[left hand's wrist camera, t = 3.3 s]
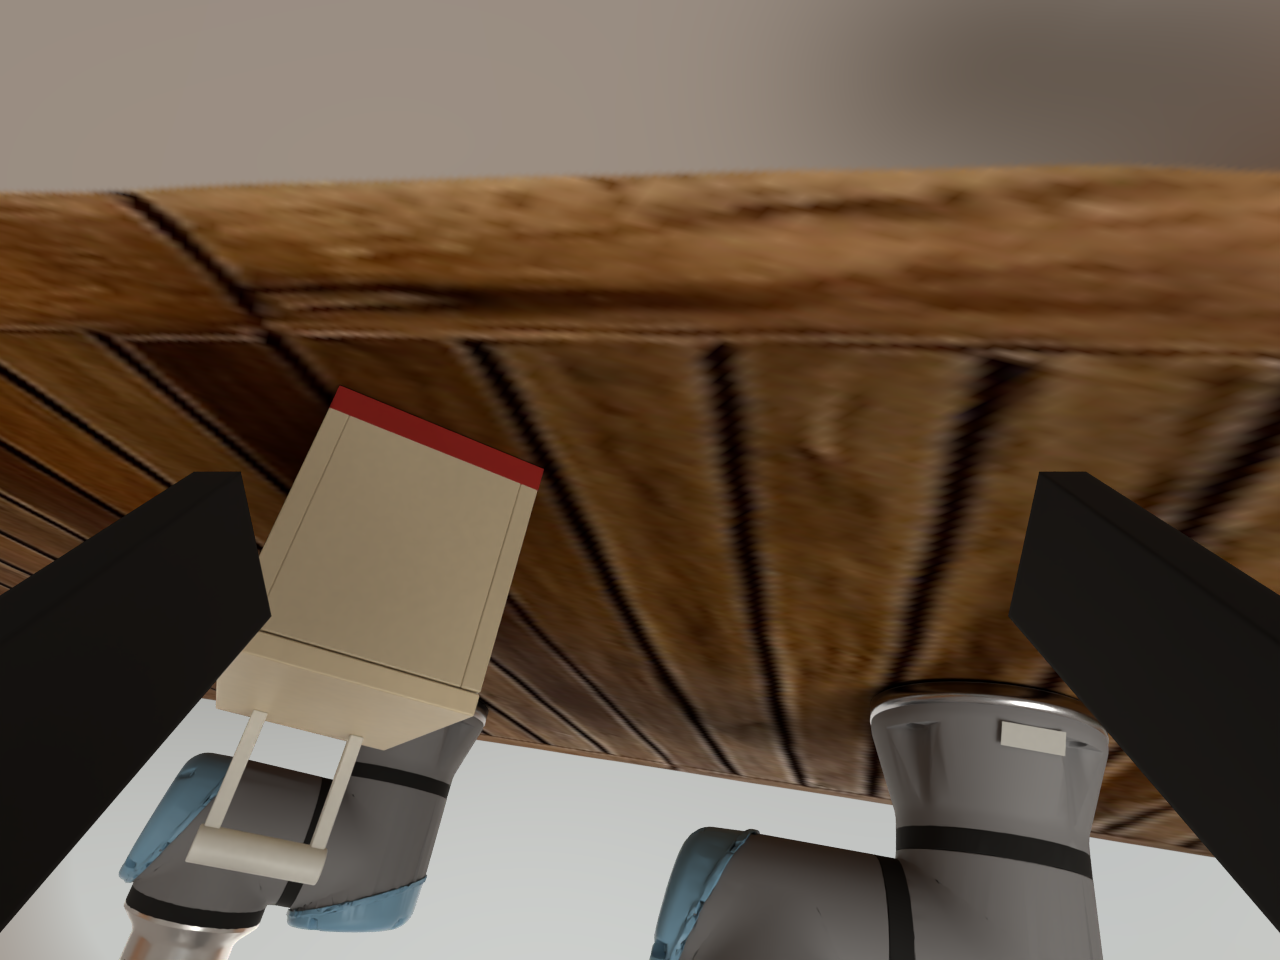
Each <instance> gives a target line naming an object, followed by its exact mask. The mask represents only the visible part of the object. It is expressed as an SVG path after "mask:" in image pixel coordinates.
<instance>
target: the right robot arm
mask: <svg viewBox="0 0 1280 960" xmlns="http://www.w3.org/2000/svg"><path fill="white" fill-rule="evenodd" d="M487 714H488V709H487V707H486V706H485V705H483V704H482V703H480V702H478V703H477V706H476V710H475V713H474V716H472V717H470V718H467V719H464V720H462V721H459V722H457V723H454V724H451V725H449V726H446V727H444V728H441V729H438V730H436V731H433V732H431V733H428V734H425V735H423V736H420V737H418V738H415V739H412V740H410V741H407V742H405V743H402V744H399V745H397V746H394V747H392V748H389V749H386V750H380V749H376V748H372V747H368V746H364V745H361V747H360V750H359V753H358V756H357V759H356V762H355V764H354V767H353V770H352V773H351V776H350V779H349V782H348V785H347V787H346V790H345V793H344V796H343V799H342V802H341V805H340V807H339V810H338V813H337V816H336V819H335V822H334V825H333V827H332V830H331V833H330V836H329V839H328V842H327V845H326V847H325V848H327V856H326V860H325V864H324V867H323V869H322V872H321V875H320V877H319V879H318V881H317V883H316V884H315V885H309V884H304V883H298V882H293V881H287V880H282V879H277V878H271V877H266V876H260V875H255V874H249V873H244V872H238V871H233V870H227V869H222V868H216V867H211V866H205V865H200V864H194V863H189V862H186V861H185V859H186V857H187V855H188V852H189V850H190V848H191V845H192V843H193V841H194V838H195V836H196V834H197V831H198V829H199V827H200V825H201V824H205V822H206V819H207V817H208V815H209V812H210V810H211V808H212V805H213V803H214V801H215V798H216V796H217V794H218V791H219V789H220V787H221V784H222V782H223V780H224V777H225V775H226V773H227V770H228V768H229V766H230V763H231V761H232V759H233V757H231V756H226V755H220V754H215V753H202V754H199V755H197V756H194V757H193V758H191V759H190V760H189V761H188V762H187V763H186V764H185V765H184V766H183V768H182V769H181V771H180V772H179V774H178V775H177V777H176V778H175V780H174V781H173V783H172V784H171V786H170V787H169V789H168V791H167V792H166V794H165V795H164V797H163V799H162V800H161V802H160V803H159V805H158V807H157V808H156V810H155V811H154V813H153V815H152V816H151V818H150V820H149V821H148V823H147V825H146V826H145V828H144V829H143V831H142V833H141V835H140V836H139V838H138V839H137V841H136V843H135V845H134V846H133V848H132V850H131V852H130V854H129V855H128V857H127V859H126V861H125V863H124V864H123V865H122V867H121V869H120V871H119V877H120V878H121V879H123V880H124V881H125V882H126V883H131V882H133V885H132V887H131V889H130V892H129V894H128V896H127V898H126V901H125V903H124V907H125V910H126V912H127V914H128V916H129V918H130V920H131V923H132V928H133V930H132V932H131V934H130V936H129V939H128V941H127V943H126V946H125V948H124V950H123V952H122V954H121V957H120V959H119V960H228V957H229V955H230V952H231V950H232V947H233V945H234V944H235V943H236V942H237V941H238V940H239V939H241V938H242V937H244V936H245V935H247V934H249V933H250V932H252V931H253V930H255V929H256V928H257V927H258V926H259V924H260V921H261V918H262V915H263V913H264V910H265V908H266V906H267V905H278V906H283V907H289V908H290V909H288V911H287V922H288V924H289V925H290V926H292V927H296V928H300V929H308V930H320V931H330V932H377V931H386V930H392V929H396V928H398V927H400V926H402V925H403V924H405V923H406V922H407V921H408V920H409V918H410V917H411V915H412V914H413V911H414V908H415V905H416V902H417V899H418V896H419V893H420V890H421V887H422V884H423V883H424V882H425V880H426V878H427V875H426V872H427V868H428V865H429V861H430V857H431V854H432V850H433V847H434V843H435V839H436V836H437V832H438V829H439V825H440V822H441V818H442V814H443V811H444V807H445V804H446V800H447V796H448V792H449V789H450V786H451V782H452V779H453V777H454V774H455V773H456V771H457V770H458V768H459V766H460V765H461V763H462V762H463V760H464V758H465V757H466V755H467V754H468V752H469V750H470V749H471V747H472V746H473V744H474V742H475V741H476V739H477V737H478V736H479V734H480V733H481V731H482V729H483V727H484V725H485V722H486V718H487ZM332 782H333V780H332V779H327V778H323V777H319V776H315V775H311V774H307V773H302V772H298V771H294V770H289V769H285V768H281V767H277V766H273V765H268V764H264V763H260V762H256V761H251V760H248V762H247V765H246V767H245V769H244V772H243V774H242V777H241V779H240V781H239V784H238V786H237V788H236V791H235V793H234V796H233V798H232V800H231V803H230V805H229V808H228V810H227V812H226V815H225V817H224V820H223V822H222V824H221V827H223V828H228V829H233V830H238V831H243V832H248V833H253V834H258V835H263V836H268V837H273V838H278V839H283V840H288V841H293V842H298V843H303V844H308V845H310V843H311V840H312V837H313V834H314V832H315V829H316V826H317V823H318V820H319V818H320V815H321V812H322V809H323V807H324V804H325V801H326V798H327V795H328V793H329V790H330V787H331V784H332Z"/></svg>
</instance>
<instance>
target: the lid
mask: <svg viewBox="0 0 1280 960" xmlns="http://www.w3.org/2000/svg"><path fill="white" fill-rule="evenodd" d="M478 699H479V694H476V693H473V692H469V691H466V690H463V689H459V688H456V687H452V686H449V685H445V684H442V683H438V682H435V681H431V680H428V679H425V678H421V677H418V676H414V675H411V674H407V673H404V672H400V671H397V670H393V669H390V668H387V667H383V666H380V665H376V664H373V663H369V662H366V661H362V660H359V659H355V658H352V657H349V656H345V655H342V654H338V653H335V652H331V651H328V650H324V649H321V648H317V647H314V646H311V645H307V644H304V643H300V642H297V641H293V640H290V639H286V638H283V637H279V636H276V635H273V634H269V633H266V632H262V631H259V632H258V633H257V634H256V635H255V636H254V637H253V639H252V640H251V641H250V642H249V643H248V644H247V646H246V647H245V648H244V649H243V650H242V651H241V653H240V654H239V655H238V656H237V657H236V658H235V660H234V661H233V662H232V663H231V664H230V665H229V666H228V668H227V669H226V670H225V671H224V672H223V673H222V675H221V676H220V677H219V678H218V679H217V688H216V708H217V709H220V710H225V711H229V712H232V713H236V714H241V715H244V716H248V717H250V719H249V722H248V724H247V726H246V728H245V731H244V733H243V735H242V738H241V740H240V742H239V745H238V747H237V750H236V752H235V754H234V756H233V759H232V761H231V763H230V766H229V768H228V770H227V773H226V775H225V777H224V780H223V782H222V784H221V787H220V789H219V791H218V794H217V796H216V798H215V801H214V803H213V805H212V808H211V810H210V812H209V815H208V817H207V819H206V822H205V824H201V825H200V827H199V829H198V831H197V834H196V836H195V838H194V841H193V843H192V845H191V848H190V850H189V852H188V855H187V857H186V859H185V861H186V862H189V863H194V864H200V865H205V866H211V867H216V868H222V869H227V870H233V871H238V872H244V873H249V874H255V875H260V876H266V877H271V878H277V879H282V880H287V881H293V882H298V883H304V884H309V885H315V884H316V883H317V881H318V879H319V877H320V875H321V872H322V869H323V867H324V864H325V860H326V856H327V848H325V847H326V845H327V842H328V839H329V836H330V833H331V830H332V827H333V825H334V822H335V819H336V816H337V813H338V810H339V807H340V805H341V802H342V799H343V796H344V793H345V790H346V787H347V785H348V782H349V779H350V776H351V773H352V770H353V767H354V764H355V762H356V759H357V756H358V753H359V750H360V747H361V745H364V746H368V747H372V748H376V749H380V750H386V749H389V748H392V747H394V746H397V745H399V744H402V743H405V742H407V741H410V740H412V739H415V738H418V737H420V736H423V735H425V734H428V733H431V732H433V731H436V730H438V729H441V728H444V727H446V726H449V725H451V724H454V723H457V722H459V721H462V720H464V719H467V718H470V717H472V716H474V713H475V710H476V706H477V703H478ZM265 721H268V722H272V723H276V724H280V725H284V726H288V727H292V728H296V729H300V730H304V731H308V732H312V733H316V734H320V735H324V736H328V737H332V738H336V739H340V740H344V741H347V743H346V746H345V748H344V751H343V754H342V757H341V760H340V762H339V765H338V768H337V770H336V773H335V776H334V779H333V782H332V784H331V787H330V790H329V793H328V795H327V798H326V801H325V804H324V807H323V809H322V812H321V815H320V818H319V820H318V823H317V826H316V829H315V832H314V834H313V837H312V840H311V843H310V845H308V844H303V843H298V842H293V841H288V840H283V839H278V838H273V837H268V836H263V835H258V834H253V833H248V832H243V831H238V830H233V829H228V828H223V827H221V824H222V822H223V820H224V817H225V815H226V812H227V810H228V808H229V805H230V803H231V800H232V798H233V796H234V793H235V791H236V788H237V786H238V784H239V781H240V779H241V777H242V774H243V772H244V769H245V767H246V765H247V762H248V760H249V757H250V755H251V753H252V750H253V748H254V745H255V743H256V741H257V738H258V736H259V733H260V731H261V729H262V726H263V724H264V722H265Z"/></svg>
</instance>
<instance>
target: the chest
mask: <svg viewBox="0 0 1280 960" xmlns="http://www.w3.org/2000/svg"><path fill="white" fill-rule="evenodd" d="M543 471H544V469H542V468H540V467H537V466H535V465H533V464H530V463H528V462H525V461H523V460H520V459H518V458H516V457H513V456H511V455H508V454H506V453H503V452H501V451H498V450H496V449H494V448H491V447H489V446H486V445H484V444H481V443H479V442H477V441H474V440H472V439H469V438H467V437H464V436H462V435H460V434H457V433H455V432H452V431H450V430H447V429H445V428H443V427H440V426H438V425H435V424H433V423H430V422H428V421H426V420H423V419H421V418H418V417H416V416H413V415H411V414H408V413H406V412H404V411H401V410H399V409H396V408H394V407H391V406H389V405H387V404H384V403H382V402H379V401H377V400H374V399H372V398H370V397H367V396H365V395H362V394H360V393H357V392H355V391H353V390H350V389H348V388H345V387H343V386H339V388H338V390H337V392H336V394H335V396H334V398H333V400H332V402H331V405H330V407H329V410H328V412H327V414H326V416H325V418H324V420H323V422H322V424H321V427H320V429H319V431H318V433H317V435H316V437H315V439H314V441H313V443H312V446H311V448H310V450H309V452H308V454H307V456H306V458H305V460H304V462H303V465H302V467H301V469H300V471H299V473H298V475H297V477H296V479H295V481H294V484H293V486H292V488H291V490H290V492H289V494H288V496H287V498H286V500H285V503H284V505H283V507H282V509H281V511H280V513H279V515H278V517H277V519H276V522H275V524H274V526H273V528H272V530H271V532H270V534H269V536H268V538H267V541H266V543H265V545H264V547H263V549H262V551H261V553H260V555H259V559H260V564H261V569H262V573H263V578H264V583H265V587H266V592H267V597H268V601H269V606H270V611H271V615H272V616H271V618H270V619H269V620H268V621H267V622H266V623H265V625H264V626H263V627H262V628H261V629H260V630H259V631H262V632H266V633H269V634H273V635H276V636H279V637H283V638H286V639H290V640H293V641H297V642H300V643H304V644H307V645H311V646H314V647H317V648H321V649H324V650H328V651H331V652H335V653H338V654H342V655H345V656H349V657H352V658H355V659H359V660H362V661H366V662H369V663H373V664H376V665H380V666H383V667H387V668H390V669H393V670H397V671H400V672H404V673H407V674H411V675H414V676H418V677H421V678H425V679H428V680H431V681H435V682H438V683H442V684H445V685H449V686H452V687H456V688H459V689H463V690H466V691H469V692H473V693H476V694H478V693H480V691H481V689H482V685H483V681H484V678H485V674H486V671H487V667H488V664H489V660H490V657H491V653H492V650H493V646H494V642H495V639H496V635H497V632H498V628H499V625H500V621H501V618H502V614H503V611H504V607H505V603H506V600H507V596H508V593H509V589H510V586H511V582H512V579H513V575H514V572H515V568H516V564H517V561H518V557H519V554H520V550H521V547H522V543H523V540H524V536H525V533H526V529H527V525H528V522H529V518H530V515H531V511H532V508H533V504H534V501H535V497H536V494H537V491H538V489H539V485H540V482H541V478H542V475H543Z"/></svg>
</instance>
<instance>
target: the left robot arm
mask: <svg viewBox="0 0 1280 960" xmlns="http://www.w3.org/2000/svg"><path fill="white" fill-rule="evenodd" d="M271 616H272V615H271V611H270V606H269V601H268V597H267V592H266V587H265V583H264V578H263V573H262V569H261V564H260V559H259V555H258V550H257V545H256V541H255V536H254V531H253V527H252V522H251V517H250V513H249V508H248V504H247V499H246V494H245V490H244V485H243V480H242V476H241V472H193V473H191V474H190V475H188V476H187V477H185V478H184V479H182V480H180V481H179V482H177V483H176V484H174V485H173V486H171V487H169V488H168V489H166V490H165V491H163V492H162V493H160V494H158V495H157V496H155V497H154V498H152V499H151V500H149V501H147V502H146V503H144V504H143V505H141V506H140V507H138V508H137V509H135V510H133V511H132V512H130V513H129V514H127V515H126V516H124V517H122V518H121V519H119V520H118V521H116V522H115V523H113V524H111V525H110V526H108V527H107V528H105V529H104V530H102V531H101V532H99V533H97V534H96V535H94V536H93V537H91V538H90V539H88V540H86V541H85V542H83V543H82V544H80V545H79V546H77V547H75V548H74V549H72V550H71V551H69V552H68V553H66V554H65V555H63V556H61V557H60V558H58V559H57V560H55V561H54V562H52V563H50V564H49V565H47V566H46V567H44V568H43V569H41V570H39V571H38V572H36V573H35V574H33V575H32V576H30V577H29V578H27V579H25V580H24V581H22V582H21V583H19V584H18V585H16V586H14V587H13V588H11V589H10V590H8V591H7V592H5V593H3V594H2V595H0V932H1V931H2V930H3V929H4V928H5V926H6V925H7V924H8V923H9V922H10V921H11V919H12V918H13V917H14V916H15V915H16V914H17V912H18V911H19V910H20V909H21V908H22V907H23V905H24V904H25V903H26V902H27V901H28V900H29V898H30V897H31V896H32V895H33V894H34V893H35V891H36V890H37V889H38V888H39V887H40V886H41V884H42V883H43V882H44V881H45V880H46V879H47V877H48V876H49V875H50V874H51V873H52V872H53V870H54V869H55V868H56V867H57V866H58V865H59V863H60V862H61V861H62V860H63V859H64V858H65V856H66V855H67V854H68V853H69V852H70V851H71V849H72V848H73V847H74V846H75V845H76V844H77V842H78V841H79V840H80V839H81V838H82V837H83V836H84V834H85V833H86V832H87V831H88V830H89V828H90V827H91V826H92V825H93V824H94V823H95V821H96V820H97V819H98V818H99V817H100V816H101V815H102V813H103V812H104V811H105V810H106V809H107V807H108V806H109V805H110V804H111V803H112V802H113V800H114V799H115V798H116V797H117V796H118V795H119V793H120V792H121V791H122V790H123V789H124V788H125V787H126V785H127V784H128V783H129V782H130V781H131V780H132V778H133V777H134V776H135V775H136V774H137V773H138V771H139V770H140V769H141V768H142V767H143V766H144V764H145V763H146V762H147V761H148V760H149V759H150V757H151V756H152V755H153V754H154V753H155V752H156V750H157V749H158V748H159V747H160V746H161V744H162V743H163V742H164V741H165V740H166V739H167V738H168V736H169V735H170V734H171V733H172V732H173V731H174V729H175V728H176V727H177V726H178V725H179V723H180V722H181V721H182V720H183V719H184V718H185V717H186V715H187V714H188V713H189V712H190V711H191V710H192V708H193V707H194V706H195V705H196V704H197V703H198V701H199V700H200V699H201V698H202V697H203V696H204V694H205V693H206V692H207V691H208V690H209V689H210V687H211V686H212V685H213V684H214V683H215V682H216V680H217V679H218V678H219V677H220V676H221V675H222V673H223V672H224V671H225V670H226V669H227V668H228V666H229V665H230V664H231V663H232V662H233V661H234V660H235V658H236V657H237V656H238V655H239V654H240V653H241V651H242V650H243V649H244V648H245V647H246V646H247V644H248V643H249V642H250V641H251V640H252V639H253V637H254V636H255V635H256V634H257V633H258V632H259V630H260V629H261V628H262V627H263V626H264V625H265V623H266V622H267V621H268V620H269V619H270V618H271ZM1008 616H1009V618H1010V619H1011V620H1012V621H1013V622H1014V623H1015V625H1016V626H1017V627H1018V628H1019V629H1020V630H1021V632H1022V633H1023V634H1024V635H1025V636H1026V637H1027V639H1028V640H1029V641H1030V642H1031V643H1032V644H1033V646H1034V647H1035V648H1036V649H1037V650H1038V651H1039V653H1040V654H1041V655H1042V656H1043V657H1044V658H1045V660H1046V661H1047V662H1048V663H1049V664H1050V665H1051V666H1052V668H1053V669H1054V670H1055V671H1056V672H1057V673H1058V675H1059V676H1060V677H1061V678H1062V679H1063V680H1064V682H1065V683H1066V684H1067V685H1068V686H1069V687H1070V689H1071V690H1072V691H1073V692H1074V693H1075V694H1076V696H1077V697H1078V698H1079V699H1080V700H1081V701H1079V700H1076V699H1074V698H1071V697H1067V696H1064V695H1061V694H1057V693H1053V692H1048V691H1044V690H1039V689H1034V688H1028V687H1021V686H1014V685H1006V684H996V683H984V682H928V683H917V684H910V685H904V686H899V687H895V688H891V689H888V690H885V691H883V692H881V693H879V694H877V695H876V696H875V697H874V698H873V699H872V700H871V707H870V723H871V730H872V736H873V739H874V743H875V746H876V749H877V753H878V756H879V760H880V763H881V766H882V770H883V773H884V776H885V780H886V783H887V787H888V790H889V793H890V797H891V800H892V803H893V807H894V810H895V816H896V858H889V857H884V856H878V855H873V854H868V853H862V852H857V851H851V850H846V849H840V848H835V847H829V846H824V845H818V844H813V843H807V842H801V841H796V840H790V839H785V838H779V837H774V836H768V835H763V834H760V833H759V831H758V830H754V829H748V830H746V831H739V830H731V829H724V828H716V827H704V828H700V829H698V830H697V831H695V832H694V833H692V834H691V835H690V836H689V837H688V839H687V840H686V841H685V842H684V844H683V846H682V848H681V850H680V852H679V854H678V856H677V859H676V861H675V864H674V867H673V870H672V873H671V876H670V879H669V882H668V885H667V888H666V892H665V895H664V899H663V902H662V906H661V910H660V914H659V918H658V922H657V926H656V931H655V943H654V945H653V947H652V951H651V956H650V959H649V960H1103V956H1102V948H1101V940H1100V932H1099V924H1098V916H1097V908H1096V900H1095V892H1094V884H1093V878H1092V868H1091V859H1090V849H1089V836H1090V831H1091V827H1092V823H1093V818H1094V814H1095V810H1096V805H1097V801H1098V797H1099V792H1100V788H1101V783H1102V779H1103V775H1104V770H1105V766H1106V762H1107V757H1108V743H1109V739H1108V733H1109V734H1110V735H1111V736H1112V738H1113V739H1114V740H1115V741H1116V742H1117V743H1118V745H1119V746H1120V747H1121V748H1122V749H1123V750H1124V752H1125V753H1126V754H1127V755H1128V756H1129V757H1130V759H1131V760H1132V761H1133V762H1134V763H1135V764H1136V766H1137V767H1138V768H1139V769H1140V770H1141V771H1142V773H1143V774H1144V775H1145V776H1146V777H1147V778H1148V780H1149V781H1150V782H1151V783H1152V784H1153V785H1154V787H1155V788H1156V789H1157V790H1158V791H1159V792H1160V794H1161V795H1162V796H1163V797H1164V798H1165V799H1166V801H1167V802H1168V803H1169V804H1170V805H1171V806H1172V808H1173V809H1174V810H1175V811H1176V812H1177V813H1178V815H1179V816H1180V817H1181V818H1182V819H1183V820H1184V822H1185V823H1186V824H1187V825H1188V826H1189V827H1190V829H1191V830H1192V831H1193V832H1194V833H1195V834H1196V836H1197V837H1198V838H1199V839H1200V840H1201V841H1202V842H1203V844H1204V845H1205V846H1206V847H1207V848H1208V849H1209V851H1210V852H1211V853H1212V854H1213V855H1214V856H1215V858H1216V859H1217V860H1218V861H1219V862H1220V863H1221V865H1222V866H1223V867H1224V868H1225V869H1226V870H1227V872H1228V873H1229V874H1230V875H1231V876H1232V877H1233V879H1234V880H1235V881H1236V882H1237V883H1238V884H1239V886H1240V887H1241V888H1242V889H1243V890H1244V891H1245V893H1246V894H1247V895H1248V896H1249V897H1250V898H1251V900H1252V901H1253V902H1254V903H1255V904H1256V905H1257V906H1258V908H1259V909H1260V910H1261V911H1262V912H1263V914H1264V915H1265V916H1266V917H1267V918H1268V919H1269V921H1270V922H1271V923H1272V924H1273V925H1274V926H1275V928H1276V929H1277V930H1278V931H1279V932H1280V595H1278V594H1277V593H1275V592H1273V591H1272V590H1270V589H1269V588H1267V587H1266V586H1264V585H1262V584H1261V583H1259V582H1258V581H1256V580H1255V579H1253V578H1251V577H1250V576H1248V575H1247V574H1245V573H1244V572H1242V571H1241V570H1239V569H1237V568H1236V567H1234V566H1233V565H1231V564H1230V563H1228V562H1226V561H1225V560H1223V559H1222V558H1220V557H1219V556H1217V555H1215V554H1214V553H1212V552H1211V551H1209V550H1208V549H1206V548H1205V547H1203V546H1201V545H1200V544H1198V543H1197V542H1195V541H1194V540H1192V539H1190V538H1189V537H1187V536H1186V535H1184V534H1183V533H1181V532H1179V531H1178V530H1176V529H1175V528H1173V527H1172V526H1170V525H1169V524H1167V523H1165V522H1164V521H1162V520H1161V519H1159V518H1158V517H1156V516H1154V515H1153V514H1151V513H1150V512H1148V511H1147V510H1145V509H1143V508H1142V507H1140V506H1139V505H1137V504H1136V503H1134V502H1132V501H1131V500H1129V499H1128V498H1126V497H1125V496H1123V495H1122V494H1120V493H1118V492H1117V491H1115V490H1114V489H1112V488H1111V487H1109V486H1107V485H1106V484H1104V483H1103V482H1101V481H1100V480H1098V479H1096V478H1095V477H1093V476H1092V475H1090V474H1089V473H1087V472H1039V476H1038V480H1037V485H1036V490H1035V494H1034V499H1033V504H1032V508H1031V513H1030V517H1029V522H1028V527H1027V531H1026V536H1025V541H1024V545H1023V550H1022V555H1021V559H1020V564H1019V569H1018V573H1017V578H1016V583H1015V587H1014V592H1013V597H1012V601H1011V606H1010V611H1009V615H1008Z"/></svg>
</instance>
